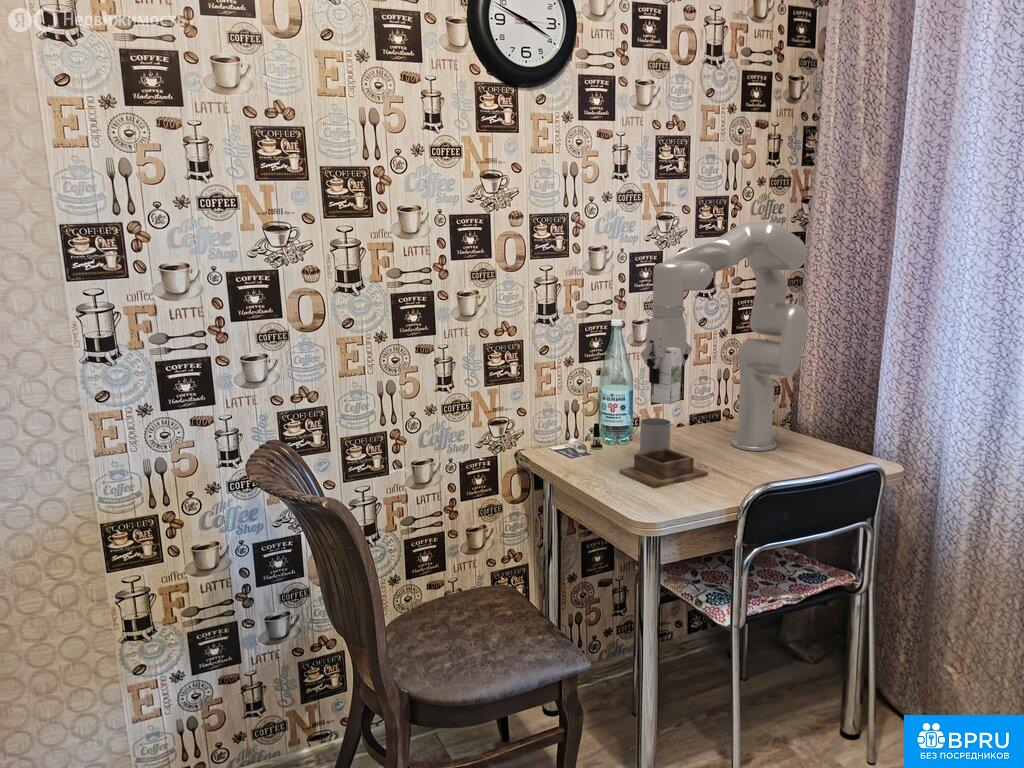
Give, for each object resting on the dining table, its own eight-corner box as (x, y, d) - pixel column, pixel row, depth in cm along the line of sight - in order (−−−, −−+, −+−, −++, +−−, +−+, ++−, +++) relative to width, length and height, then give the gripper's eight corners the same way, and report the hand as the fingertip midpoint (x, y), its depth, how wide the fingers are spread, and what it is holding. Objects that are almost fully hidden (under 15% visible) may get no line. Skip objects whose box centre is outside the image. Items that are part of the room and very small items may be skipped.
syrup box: (660, 397, 198) (662, 343, 195) (681, 400, 194) (682, 345, 191) (649, 402, 194) (651, 346, 191) (670, 405, 190) (672, 348, 187)
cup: (642, 460, 210) (643, 425, 208) (637, 451, 218) (637, 418, 216) (672, 459, 210) (673, 425, 208) (666, 451, 219) (666, 417, 217)
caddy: (671, 461, 208) (671, 444, 207) (707, 475, 197) (708, 457, 196) (619, 473, 200) (619, 455, 199) (654, 488, 188) (654, 469, 187)
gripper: (683, 308, 197) (681, 375, 200) (631, 313, 188) (629, 383, 192) (704, 311, 190) (701, 380, 194) (650, 316, 182) (649, 388, 186)
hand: (666, 381), depth 193 cm, fingers closed on syrup box, 7 cm apart
